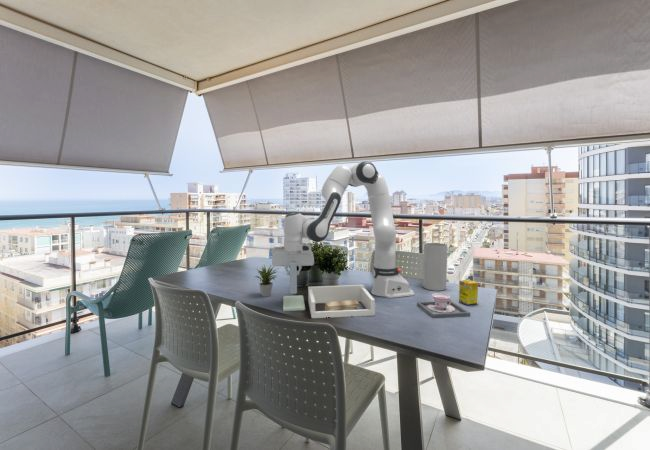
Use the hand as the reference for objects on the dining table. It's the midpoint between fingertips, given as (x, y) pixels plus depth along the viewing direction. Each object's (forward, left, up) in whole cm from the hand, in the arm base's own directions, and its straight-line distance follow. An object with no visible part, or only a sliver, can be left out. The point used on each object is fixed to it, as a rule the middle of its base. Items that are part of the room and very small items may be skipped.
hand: (293, 274), depth 159 cm
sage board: (0, 0, -14) cm, 14 cm away
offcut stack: (-21, +15, -15) cm, 29 cm away
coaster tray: (-67, +18, -14) cm, 71 cm away
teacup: (-68, +15, -15) cm, 71 cm away
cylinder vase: (-80, -18, -14) cm, 83 cm away
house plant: (+14, -15, -14) cm, 25 cm away
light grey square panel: (0, 0, -7) cm, 7 cm away
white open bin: (-21, +10, -14) cm, 27 cm away
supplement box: (-84, +10, -14) cm, 86 cm away
